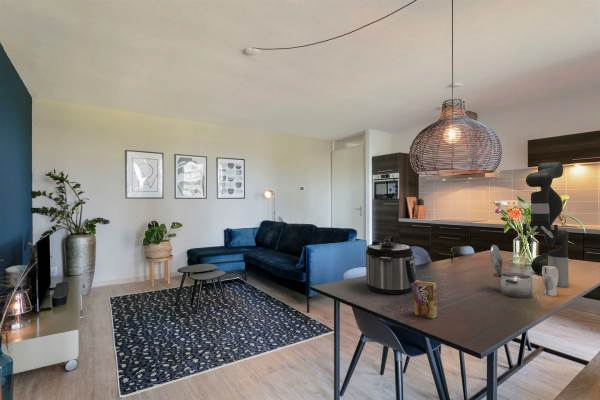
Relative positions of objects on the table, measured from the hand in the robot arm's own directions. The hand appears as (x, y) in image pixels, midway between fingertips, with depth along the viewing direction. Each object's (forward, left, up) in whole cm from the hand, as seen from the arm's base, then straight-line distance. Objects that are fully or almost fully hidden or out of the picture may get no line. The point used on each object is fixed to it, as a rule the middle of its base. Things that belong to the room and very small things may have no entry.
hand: (540, 244), depth 154 cm
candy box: (+57, -33, -30) cm, 72 cm away
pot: (-8, -14, -29) cm, 33 cm away
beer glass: (-19, +1, -29) cm, 35 cm away
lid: (-8, -21, -11) cm, 25 cm away
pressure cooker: (+31, -67, -30) cm, 79 cm away
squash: (-71, -11, -30) cm, 77 cm away
